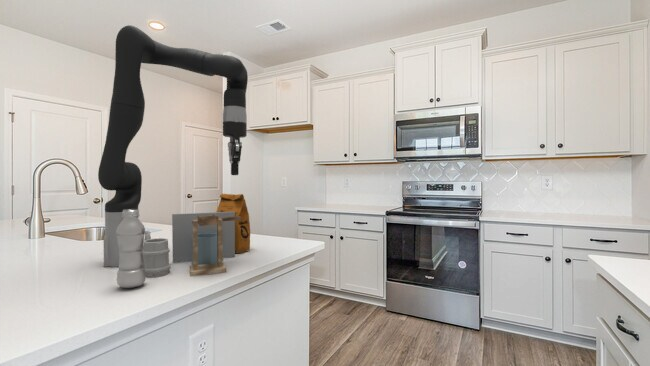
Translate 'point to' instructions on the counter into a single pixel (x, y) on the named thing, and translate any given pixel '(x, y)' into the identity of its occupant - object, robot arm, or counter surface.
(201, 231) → the backboard
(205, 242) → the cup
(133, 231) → the plastic bottle
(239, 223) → the coffee package
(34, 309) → the counter surface
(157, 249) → the mug
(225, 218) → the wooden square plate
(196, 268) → the stand
